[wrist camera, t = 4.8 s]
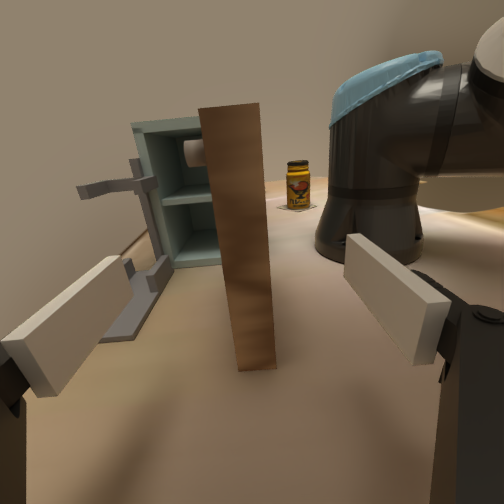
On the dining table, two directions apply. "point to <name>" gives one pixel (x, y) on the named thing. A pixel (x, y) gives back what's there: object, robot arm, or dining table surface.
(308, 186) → the condiment
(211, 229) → the cabinet
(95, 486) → the dining table surface
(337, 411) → the dining table surface
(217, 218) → the door
